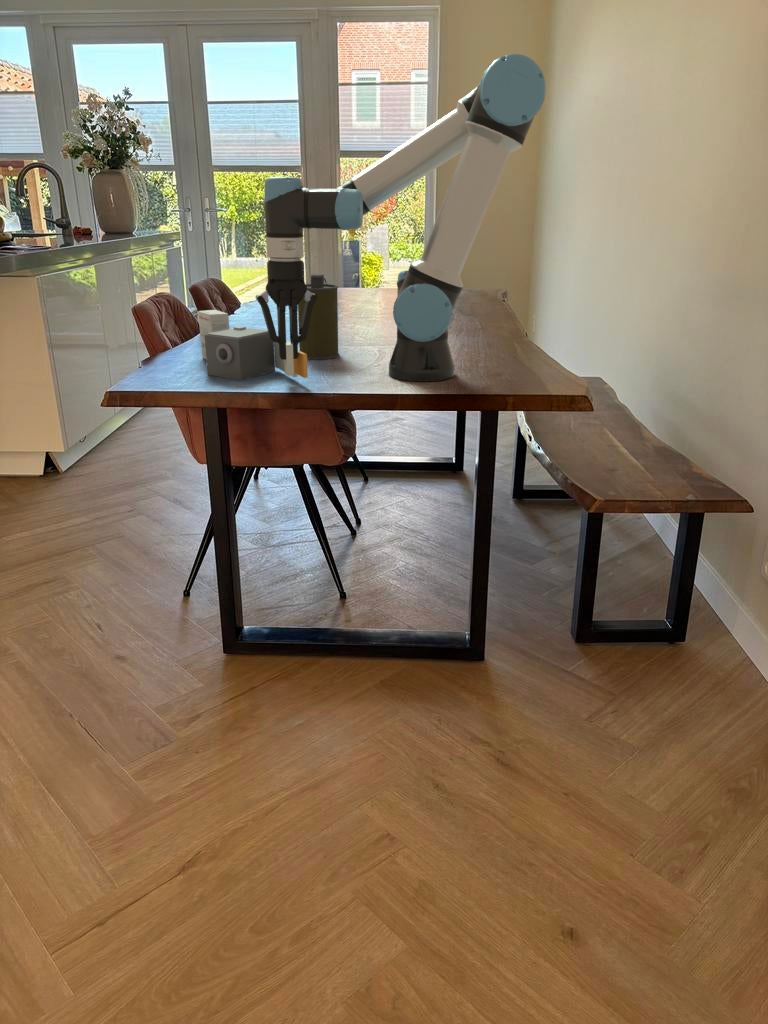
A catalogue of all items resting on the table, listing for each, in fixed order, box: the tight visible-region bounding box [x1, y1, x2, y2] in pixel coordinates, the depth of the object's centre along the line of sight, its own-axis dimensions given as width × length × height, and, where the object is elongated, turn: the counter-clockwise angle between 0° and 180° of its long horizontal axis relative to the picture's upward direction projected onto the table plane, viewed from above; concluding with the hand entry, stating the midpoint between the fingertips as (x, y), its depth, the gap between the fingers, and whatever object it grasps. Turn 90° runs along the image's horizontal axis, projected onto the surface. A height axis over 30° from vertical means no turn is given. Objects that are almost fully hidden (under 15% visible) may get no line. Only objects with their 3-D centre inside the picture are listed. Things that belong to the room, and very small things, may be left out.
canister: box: [297, 274, 340, 361], centre depth 193 cm, size 11×10×20 cm
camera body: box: [205, 325, 276, 381], centre depth 175 cm, size 10×13×10 cm
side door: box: [274, 339, 309, 379], centre depth 170 cm, size 1×18×7 cm, turn 27°
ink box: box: [197, 309, 230, 361], centre depth 188 cm, size 9×5×12 cm, turn 33°
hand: (289, 374), depth 165 cm, fingers closed
